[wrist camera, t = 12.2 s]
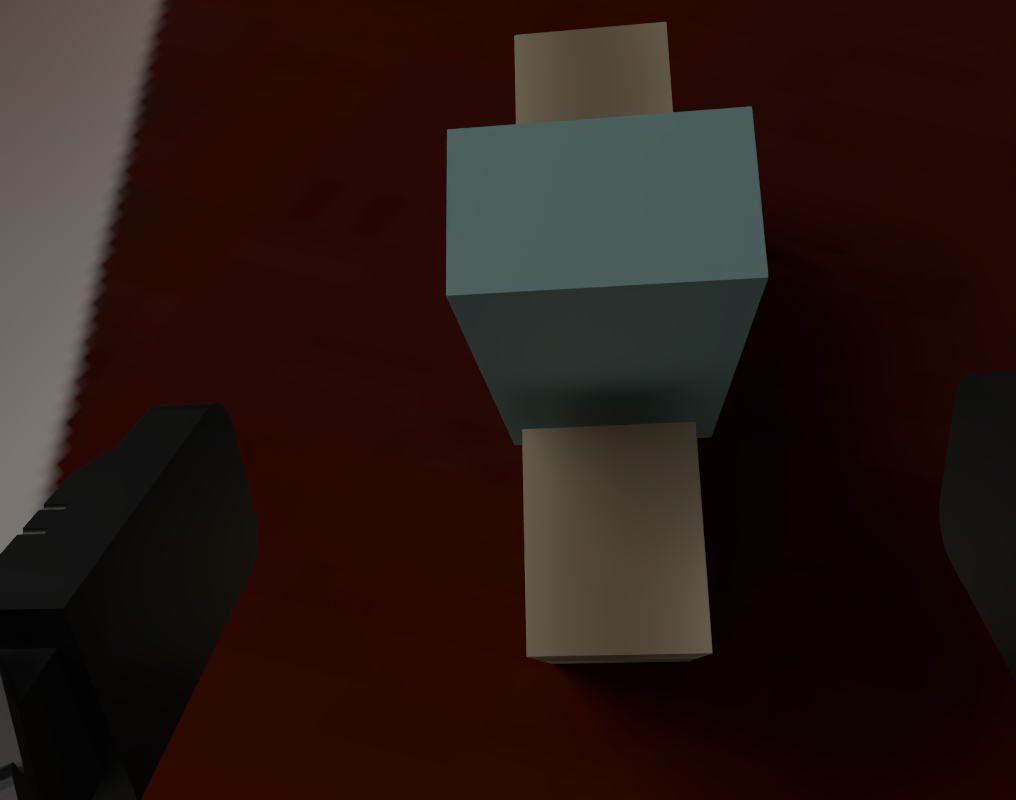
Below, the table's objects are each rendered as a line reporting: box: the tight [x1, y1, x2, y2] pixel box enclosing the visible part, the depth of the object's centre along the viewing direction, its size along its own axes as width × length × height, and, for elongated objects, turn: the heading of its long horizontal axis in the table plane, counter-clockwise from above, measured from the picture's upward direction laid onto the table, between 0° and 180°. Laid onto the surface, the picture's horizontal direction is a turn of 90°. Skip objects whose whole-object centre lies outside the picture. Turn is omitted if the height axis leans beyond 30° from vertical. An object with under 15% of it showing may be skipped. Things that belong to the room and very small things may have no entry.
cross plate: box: [446, 107, 768, 445], centre depth 20 cm, size 5×3×10 cm, turn 91°
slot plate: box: [514, 22, 712, 664], centre depth 23 cm, size 4×14×7 cm, turn 1°
